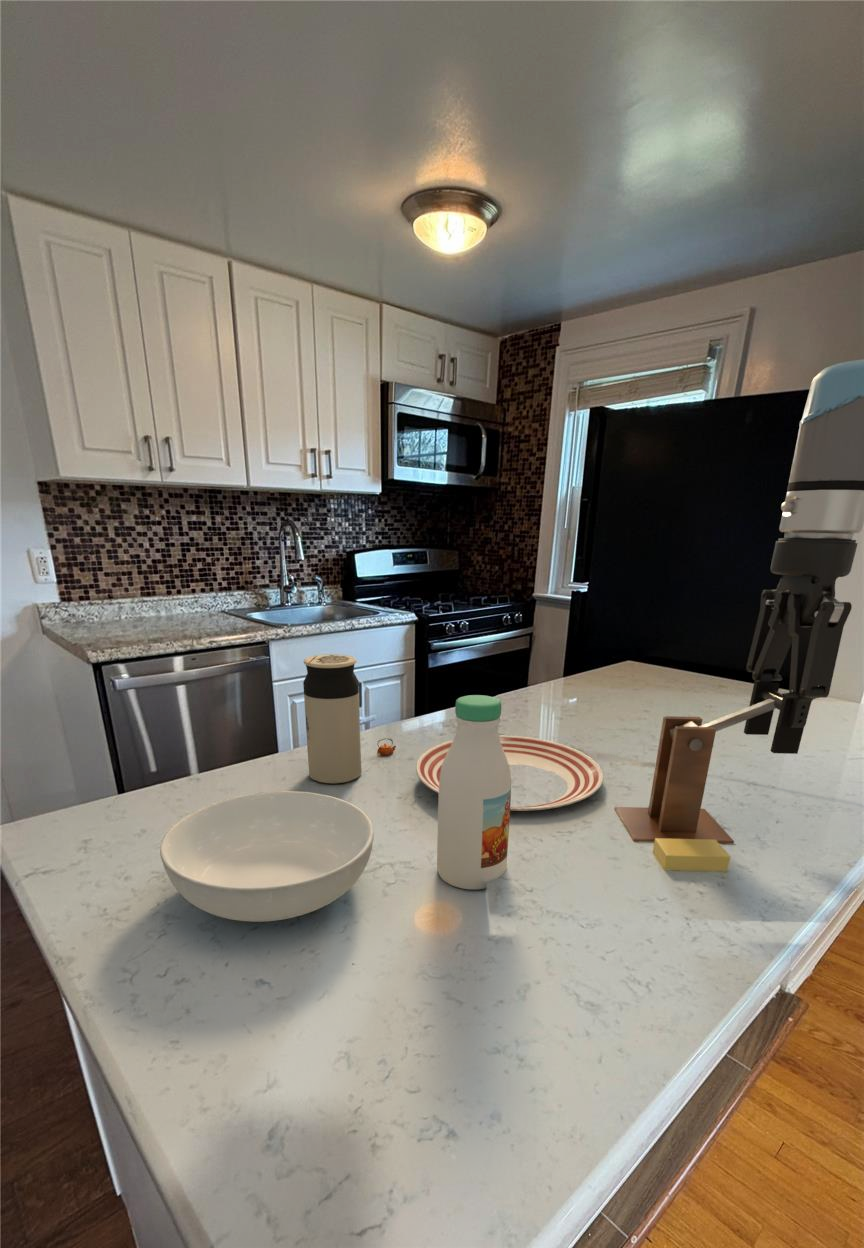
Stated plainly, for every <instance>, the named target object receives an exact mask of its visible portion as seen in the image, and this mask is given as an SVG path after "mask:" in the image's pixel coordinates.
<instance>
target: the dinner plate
mask: <svg viewBox="0 0 864 1248" xmlns="http://www.w3.org/2000/svg"><path fill="white" fill-rule="evenodd" d="M499 738H500V742H501V745H502V748H503V750H504V753H505V755H506V757H507V760H508V763H509V766H531V767H534V768H537V769H542V770H545V771H548V772H551V773H554V774H555V775H557V776H559V777H560V778H562V779H563V780H564V781H565V782H566V784H567V789H566V791H565V793H564V794H562V795H561V796H560V797H559V798H557V799H555V800H552V801H550V802H547V803H543V804H537V805H531V806H530V805H529V806H510V812H511V811H513V812H519V811H521V812H530V811H543V810H549V809H555V808H561V807H566V806H569V805H573V804H575V803H578V802H581V801H583V800H585V799H587V798H589V797H591V796H592V795H594V794H595V793H596V792H597V791H598V790H599V789H600V788H601V787H602V785H603V782H604V772H603V770H602V768H601V766H600V765H599V764H598V763H597V761H595V760H594V759H593V758H591V757H590V756H589V755H587V754H586V753H584V752H582V751H580V750H578V749H576V748H574V747H571V746H568V745H565V744H563V743H559V742H556V741H552V740H547V739H542V738H536V737H529V736H520V735H500V734H499ZM453 740H454V739H452V740H448V741H445V742H442V743H440V744H437V745H435V746H432V747H431V748H429V749H427V750H426V751H425V752H424V753H422V754H421V755H420V756H419V758H418V760H417V762H416V764H415V773H416V775H417V777H418V779H419V780H420V781H421V782H422V783H423V784H424V785H425V786H426V787H427V788H428V789H430V790H431V791H433V792H435V793H437V794H439V780H440V772H441V768H442V764H443V761H444V759H445V757H446V754H447V752H448V751H449V749H450V747H451V745H452V742H453Z"/></svg>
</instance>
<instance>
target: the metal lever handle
mask: <svg viewBox="0 0 864 1248" xmlns="http://www.w3.org/2000/svg"><path fill="white" fill-rule="evenodd" d="M760 699H761V700H762V702H760V703H757V704H755V705H752V706H749V705H748V706H747V707H745V708H741V709H740V710H737V711H734V712H731V713H729V714H726V715H724V716H721V717H719V718H717V719H714V720H711V721H709V722H706V723H704V724H703V723H702V725H701V726H697V725H696V724H695V723H693V722H692V721H691V722H689V723H686V724H684V725H681V726H682V727H713V728H715V729H716V732H719V731H721V730H724V729H727V728H729V727H733V726H734V725H738V724H739V723H742V722H746V720H747V719H750V718H753V717H755V716H758V715H760V714H763V713H766V712H768V711H771V710H773V709H774V710H776V709H777V710H778V711H780V708H781V704H782V699H783V696H782V693H781V692H780V691H778V692H777V691H775V690H773V689H771V688H765V689H763V690H762V691H761V692H760ZM674 731H675V728H673V729H671V730H670V734H671V737H672V740H673V736H674Z"/></svg>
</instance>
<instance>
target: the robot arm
mask: <svg viewBox="0 0 864 1248" xmlns="http://www.w3.org/2000/svg"><path fill="white" fill-rule="evenodd" d="M798 426H799V429H798V433H797V439H796V444H795V449H794V454H793V458H792V463H791V470H790V473H789V474H790V475H789V479H788V485H787V490H786V495H785V499H784V502H782V503H781V504H780V505H781V506H780V509H781V511H782V514H781V518H780V519H781V520H780V523H779V528H778V530H779V531H780V533H784V536H783V538H782V537H781V538H779V537H778V540H776V541H775V544H774V548H773V549H774V550H773V554H772V558H771V565H770V572H771V573H772V574H774V575H780V576H781V577H780V579H779V582H778V584H777V586H776V589H763V590H762V592H761V593H760V604H759V605H760V606H759V607H760V608H759V613H758V617H757V622H756V626H755V630H754V633H753V638H752V642H751V646H750V650H749V655H748V658H747V663H746V671H747V672H748V673H752V674H751V679H752V680H753V681H754V682H753V687H752V691H751V696H750V701H749V705H748V707H749V706H752V705H755V704H757V703H760V702H762V700H761V699H760V692H761V691H762V690H763V689H765V688H771V689H773V690H775V691H777V692H779V689H780V685H781V683H779V681H780V682H781V681H782V680H783V677H782V675H780V671H781V669H782V667H783V665H784V662H785V659H786V657H787V654H788V652H789V650H790V648H791V655H790V669H789V670H790V673H789V689H788V692H784V693H781V694H782V696H783V699H782V704H781V708H780V710H779V711H778V712H779V713H778V717H777V721H776V726H775V729H774V732H773V733H774V734H773V739H772V743H771V746H770V752H771V753H773V754H784V755H785V754H791V755H792V754H793V755H798V753H799V750H800V745H801V741H802V737H803V733H804V730H805V727H806V725H807V721H808V717H809V712H810V709H811V705H812V702H813V700H816V699H821V698H822V699H824V698H825V699H826V698H828V697H829V695H830V691H831V686H832V681H833V677H834V673H835V668H836V664H837V659H838V656H839V649H840V646H841V641H842V635H843V632H844V627H845V625H846V622H847V620H848V618H849V616H850V613H851V611H852V605H853V604H852V603H851V601H850V602H849V601H840V600H838V599H837V598H836V583H837V582H836V581H837V580H838V579H839V578H845V577H846V576H849V575H850V573H851V571H852V568H853V564H854V559H855V556H856V552H857V548H858V544H859V543H858V542H857V540H856V539H853V538H854V535H855V534H859V533H860V532H862V531H863V527H864V359H857V360H856V359H855V360H849V361H844V362H839V363H836V364H833V365H830V366H827V367H825V368H824V369H822V370H820V372H818V374H817V375H815V376H814V377H813V379H812V381H811V382H810V387H809V391H808V394H807V399H806V402H805V406H804V409H803V413H802V417H801V420H800V421H799V425H798ZM774 711H775V709H773V710H771V711H768V712H766V713H763V714H760V715H758V716H755V717H753V718H750V719H747V720H745V723H744V727H743V728H744V730H743V734H745V735H748V736H749V735H752V736H753V735H755V736H756V735H758V736H769V733H770V729H771V724H772V720H773V717H774Z"/></svg>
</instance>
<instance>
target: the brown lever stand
mask: <svg viewBox="0 0 864 1248" xmlns="http://www.w3.org/2000/svg"><path fill="white" fill-rule="evenodd" d="M691 721H692V722H693V723H695V724H696V725H697V726H701V725H703V718H701V717H700V716H672V715H671V716H670V715H669V716H668V715H664V716H663V717H662V723H661V730H660V736H659V742H658V748H657V756H656V761H655V767H654V771H653V773H654V774H653V779H652V785H651V792H650V798H649V803H648V804H649V805H648V807H641V806H640V807H637V806H614V808H613V809H614V811H615V813H616V815H617V816H618V818H619V819H620V822H622V824H623V826H624V828H625V830H626V831H627V833H628V835H629V836H630V838H631V840H632V841H633V842H641V843H643V842H645V843H646V842H647V843H649V842H650V843H654V842H655V838H665V839H711V840H716V841H717V842H718V843H719V844H734V843H735V840H734V839H733V838H732V837H731V836H730V835H729V833H727V832H726V831H725V829H724V828H723V827H722V826H721V825H720V824H719V823H718V822H717V821H716V819H715V818H714V817H713V816H712V815H711V814H710V813H709V812H708V811H707V810H706V809H705V808H702V804H703V798H704V793H705V788H706V784H707V779H708V773H709V767H710V763H711V759H712V753H713V748H714V742H715V738H716V733H717V731H716V729H715V728H713V727H682V726H681V725H684V724H686V723H689V722H691ZM673 728H675V731H674V736H673V740H672V737H671V734H670V730H671V729H673Z"/></svg>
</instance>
